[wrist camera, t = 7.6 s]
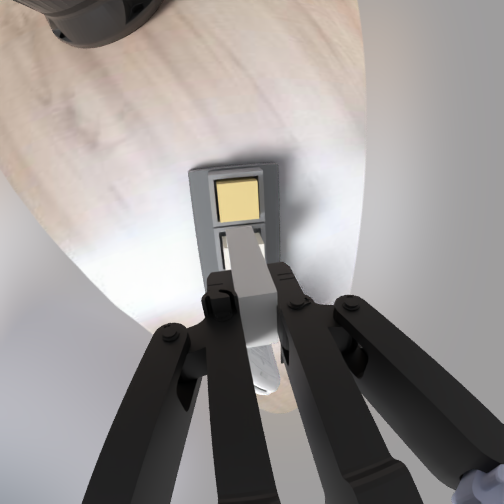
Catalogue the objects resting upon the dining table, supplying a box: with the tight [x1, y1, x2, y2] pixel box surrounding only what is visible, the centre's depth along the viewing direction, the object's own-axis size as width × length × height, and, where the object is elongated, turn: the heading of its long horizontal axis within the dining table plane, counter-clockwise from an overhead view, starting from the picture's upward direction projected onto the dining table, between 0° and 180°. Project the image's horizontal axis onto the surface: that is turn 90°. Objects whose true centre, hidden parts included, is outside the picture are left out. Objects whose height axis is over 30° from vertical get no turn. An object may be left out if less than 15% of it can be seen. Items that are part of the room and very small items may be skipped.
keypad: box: [188, 162, 280, 293], centre depth 32 cm, size 18×10×4 cm, turn 3°
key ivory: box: [222, 233, 265, 270], centre depth 29 cm, size 4×4×3 cm
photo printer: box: [247, 344, 280, 395], centre depth 35 cm, size 10×4×12 cm, turn 37°
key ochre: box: [216, 176, 259, 223], centre depth 28 cm, size 4×4×3 cm
